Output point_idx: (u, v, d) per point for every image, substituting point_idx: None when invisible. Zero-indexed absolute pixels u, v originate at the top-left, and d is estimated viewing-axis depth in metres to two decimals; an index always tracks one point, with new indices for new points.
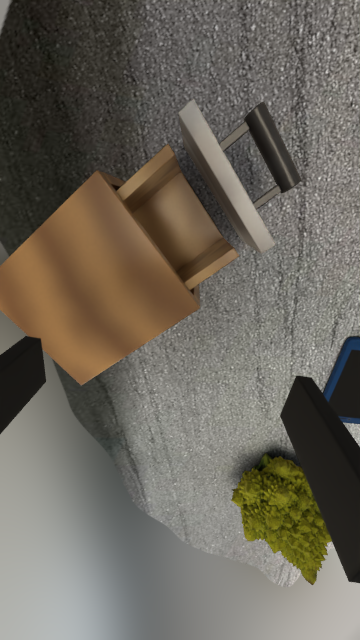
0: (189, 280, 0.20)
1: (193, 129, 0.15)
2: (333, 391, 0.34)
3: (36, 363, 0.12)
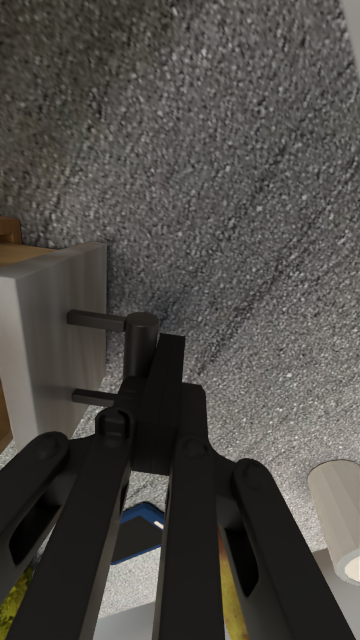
0: None
1: None
2: None
3: None
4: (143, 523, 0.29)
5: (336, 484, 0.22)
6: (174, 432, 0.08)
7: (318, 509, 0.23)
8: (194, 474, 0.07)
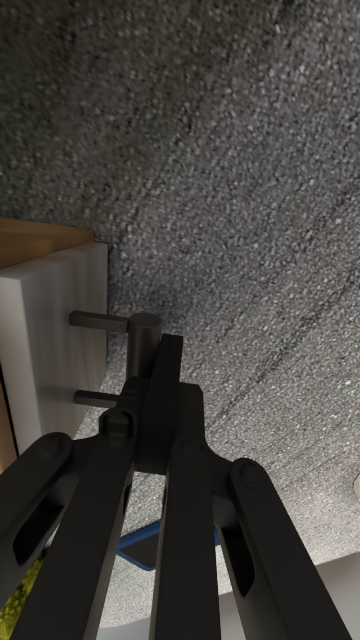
0: None
1: None
2: (142, 539, 0.31)
3: None
4: None
5: None
6: (171, 432, 0.08)
7: None
8: (190, 473, 0.07)
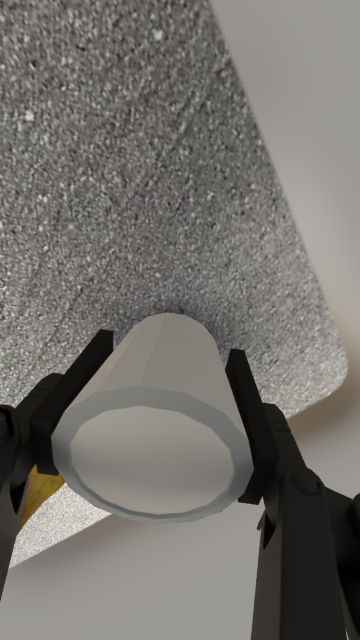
0: None
1: None
2: None
3: (109, 353, 0.14)
4: None
5: (130, 336, 0.12)
6: (274, 462, 0.08)
7: None
8: (307, 510, 0.07)
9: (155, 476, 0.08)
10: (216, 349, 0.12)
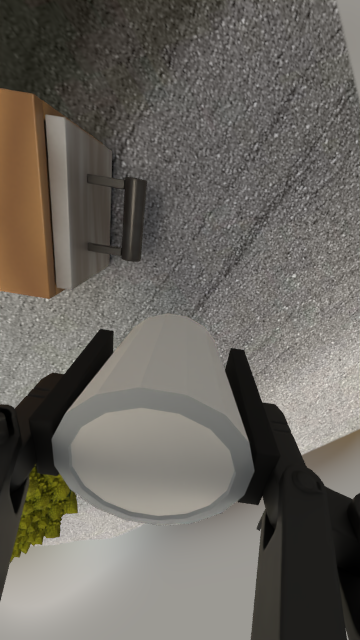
0: None
1: (51, 141, 0.15)
2: None
3: (110, 353, 0.14)
4: None
5: (130, 337, 0.12)
6: (274, 462, 0.08)
7: None
8: (307, 511, 0.07)
9: (156, 478, 0.08)
10: (216, 350, 0.12)
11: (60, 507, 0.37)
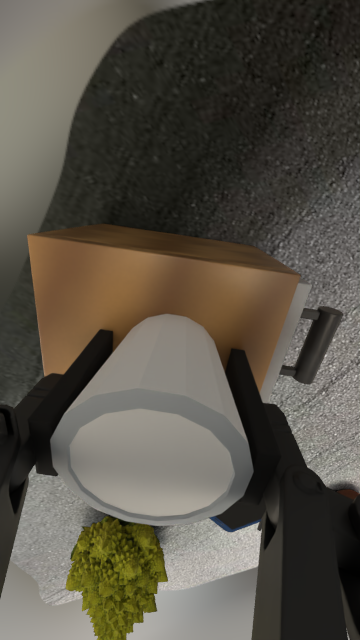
0: None
1: None
2: None
3: (109, 353, 0.14)
4: None
5: (129, 338, 0.12)
6: (275, 462, 0.08)
7: None
8: (308, 511, 0.07)
9: (155, 478, 0.08)
10: (216, 350, 0.12)
11: (156, 580, 0.36)
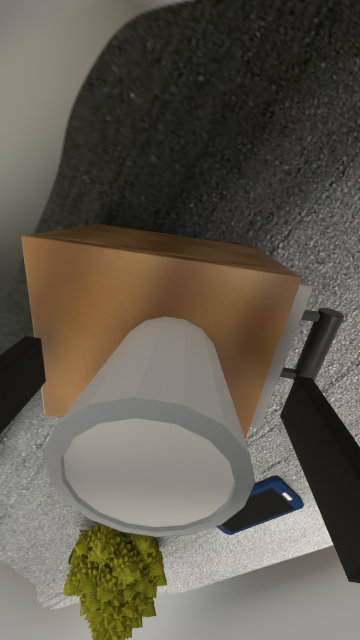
0: None
1: None
2: None
3: (36, 363, 0.12)
4: (272, 494, 0.34)
5: (127, 342, 0.11)
6: None
7: None
8: None
9: (152, 489, 0.08)
10: (215, 354, 0.12)
11: (155, 584, 0.35)
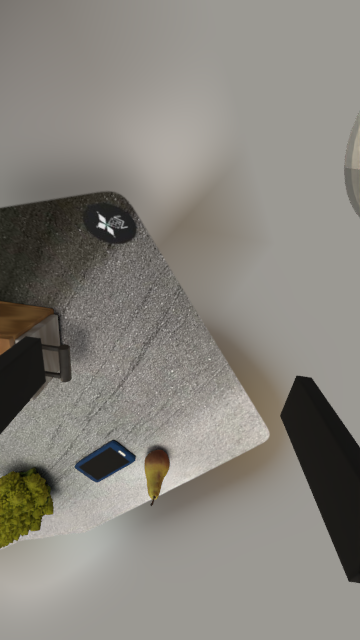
0: None
1: None
2: (90, 459, 0.55)
3: (36, 363, 0.12)
4: (112, 452, 0.54)
5: None
6: None
7: None
8: None
9: None
10: None
11: (40, 510, 0.55)
